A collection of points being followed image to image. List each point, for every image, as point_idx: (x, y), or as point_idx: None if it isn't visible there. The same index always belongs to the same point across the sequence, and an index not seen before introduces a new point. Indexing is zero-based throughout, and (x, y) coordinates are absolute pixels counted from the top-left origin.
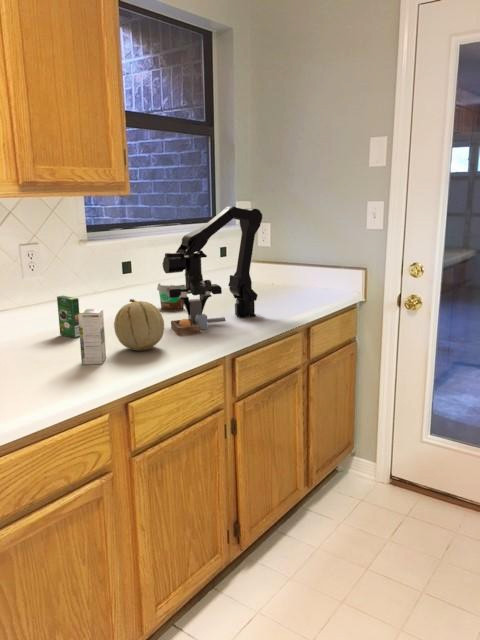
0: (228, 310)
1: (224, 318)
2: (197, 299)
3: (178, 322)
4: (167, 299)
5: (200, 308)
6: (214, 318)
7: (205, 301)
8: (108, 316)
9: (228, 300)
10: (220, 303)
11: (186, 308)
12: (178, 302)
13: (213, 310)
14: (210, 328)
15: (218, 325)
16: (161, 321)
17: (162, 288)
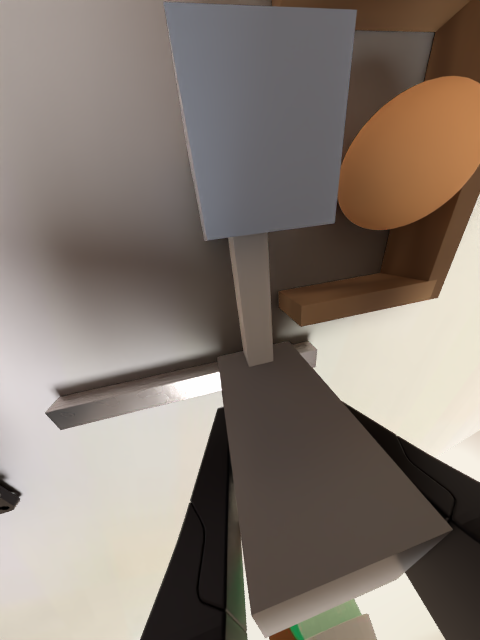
0: (81, 537)
1: (54, 408)
2: (288, 622)
3: (390, 283)
4: None
5: (242, 436)
6: (130, 403)
7: (164, 604)
8: (448, 449)
9: (104, 603)
10: (130, 581)
11: (372, 427)
12: None
13: (152, 527)
14: (160, 186)
15: (93, 278)
16: None
17: (370, 638)
